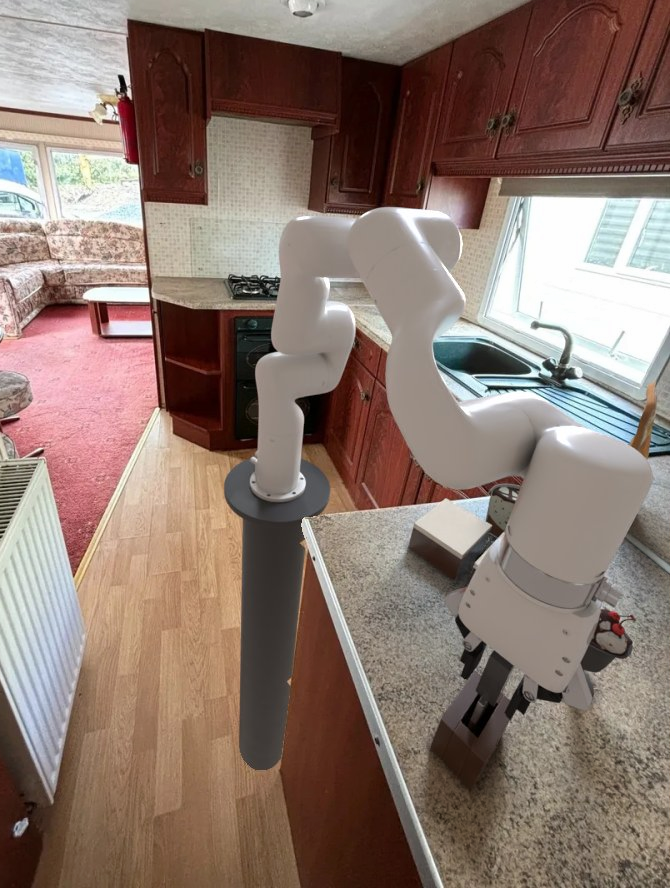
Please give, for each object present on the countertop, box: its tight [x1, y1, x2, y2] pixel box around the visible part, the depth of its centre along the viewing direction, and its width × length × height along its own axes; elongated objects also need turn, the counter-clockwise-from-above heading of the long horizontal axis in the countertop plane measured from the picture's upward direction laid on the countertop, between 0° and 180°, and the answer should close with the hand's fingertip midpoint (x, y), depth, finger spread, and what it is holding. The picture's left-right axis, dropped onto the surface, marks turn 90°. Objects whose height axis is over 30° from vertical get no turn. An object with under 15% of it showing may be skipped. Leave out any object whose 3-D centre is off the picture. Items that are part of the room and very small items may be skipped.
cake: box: [407, 498, 492, 582], centre depth 73 cm, size 9×11×6 cm
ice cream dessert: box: [485, 483, 521, 540], centre depth 76 cm, size 12×6×10 cm, turn 40°
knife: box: [466, 649, 516, 736], centre depth 44 cm, size 2×4×16 cm, turn 132°
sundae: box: [581, 607, 637, 696], centre depth 52 cm, size 7×7×15 cm
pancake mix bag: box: [627, 380, 658, 461], centre depth 83 cm, size 7×19×28 cm, turn 132°
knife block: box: [429, 670, 511, 793], centre depth 46 cm, size 5×8×6 cm, turn 132°
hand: (491, 686), depth 43 cm, fingers open, 4 cm apart
